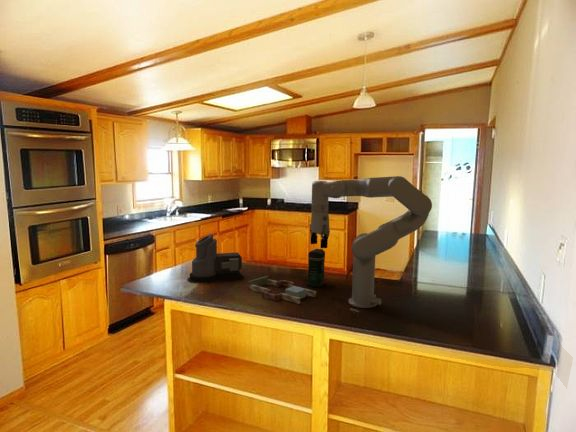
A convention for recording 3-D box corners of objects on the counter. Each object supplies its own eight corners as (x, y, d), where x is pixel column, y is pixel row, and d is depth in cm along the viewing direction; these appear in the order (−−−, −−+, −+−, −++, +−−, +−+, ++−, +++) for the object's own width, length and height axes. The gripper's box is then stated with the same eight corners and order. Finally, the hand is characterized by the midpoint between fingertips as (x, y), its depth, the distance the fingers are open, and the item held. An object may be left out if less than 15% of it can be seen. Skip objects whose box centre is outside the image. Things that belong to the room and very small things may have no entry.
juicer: (187, 284, 198) (186, 237, 194) (186, 276, 213) (185, 232, 210) (245, 280, 206) (245, 235, 203) (240, 272, 222) (240, 230, 219)
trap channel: (321, 294, 184) (321, 286, 183) (292, 306, 168) (292, 297, 167) (271, 281, 204) (271, 274, 204) (242, 291, 188) (242, 283, 187)
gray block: (306, 297, 181) (306, 288, 180) (296, 301, 175) (296, 292, 175) (294, 294, 185) (294, 285, 185) (285, 297, 180) (285, 289, 179)
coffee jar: (320, 288, 194) (321, 252, 191) (305, 286, 197) (306, 250, 194) (326, 283, 202) (327, 248, 200) (312, 281, 206) (312, 247, 203)
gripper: (336, 210, 166) (335, 249, 168) (318, 206, 182) (317, 241, 184) (321, 210, 163) (320, 250, 165) (303, 206, 179) (303, 242, 181)
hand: (318, 245), depth 175 cm, fingers open, 9 cm apart
